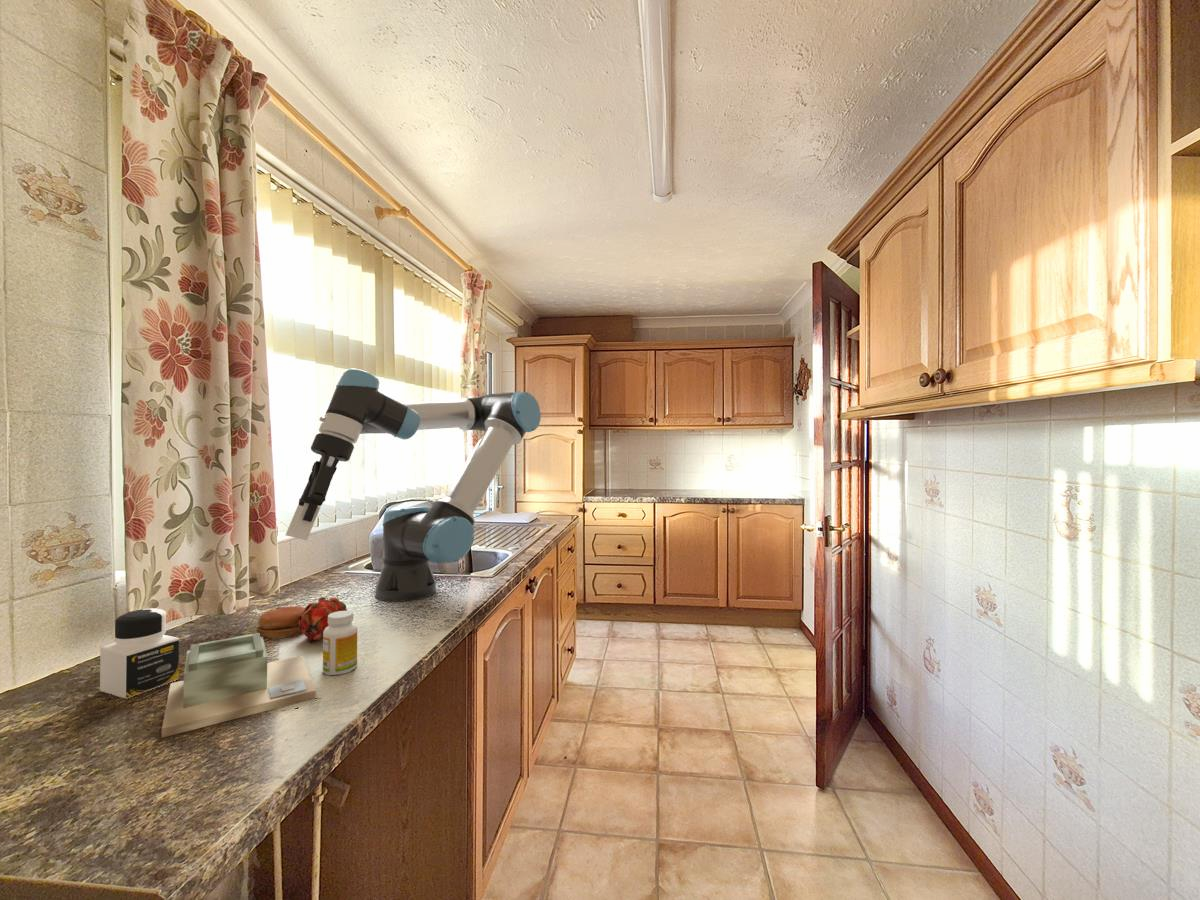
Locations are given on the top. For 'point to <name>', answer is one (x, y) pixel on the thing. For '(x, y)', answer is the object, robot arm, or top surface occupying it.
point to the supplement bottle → (340, 644)
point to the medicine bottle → (139, 655)
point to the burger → (280, 622)
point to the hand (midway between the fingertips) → (295, 537)
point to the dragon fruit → (318, 617)
